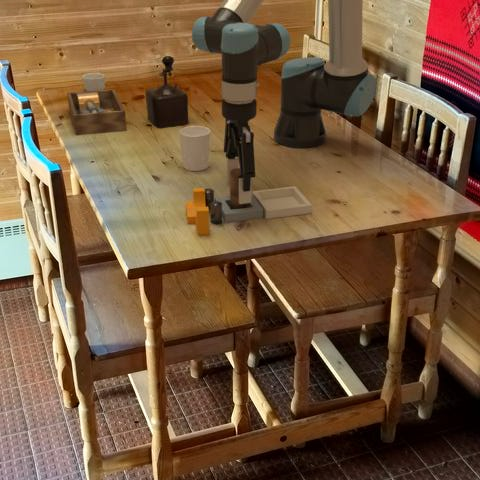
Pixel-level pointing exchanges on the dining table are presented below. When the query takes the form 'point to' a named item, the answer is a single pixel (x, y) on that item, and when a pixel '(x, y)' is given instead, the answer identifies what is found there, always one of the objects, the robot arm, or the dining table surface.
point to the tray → (282, 202)
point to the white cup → (195, 147)
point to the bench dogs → (213, 207)
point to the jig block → (240, 210)
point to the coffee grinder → (167, 101)
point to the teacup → (94, 81)
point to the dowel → (235, 190)
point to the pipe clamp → (198, 212)
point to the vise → (88, 103)
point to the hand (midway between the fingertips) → (238, 193)
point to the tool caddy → (98, 114)
